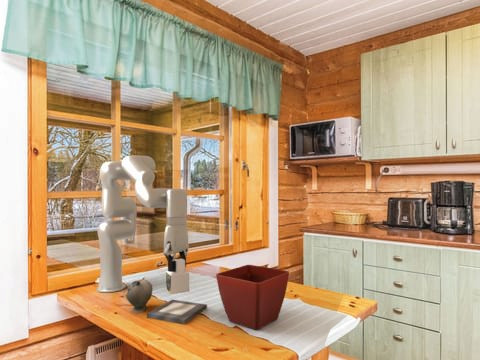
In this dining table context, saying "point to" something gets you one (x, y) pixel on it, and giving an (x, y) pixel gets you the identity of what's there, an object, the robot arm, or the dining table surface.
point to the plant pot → (252, 294)
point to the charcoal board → (177, 311)
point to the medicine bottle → (178, 278)
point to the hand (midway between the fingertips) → (177, 268)
